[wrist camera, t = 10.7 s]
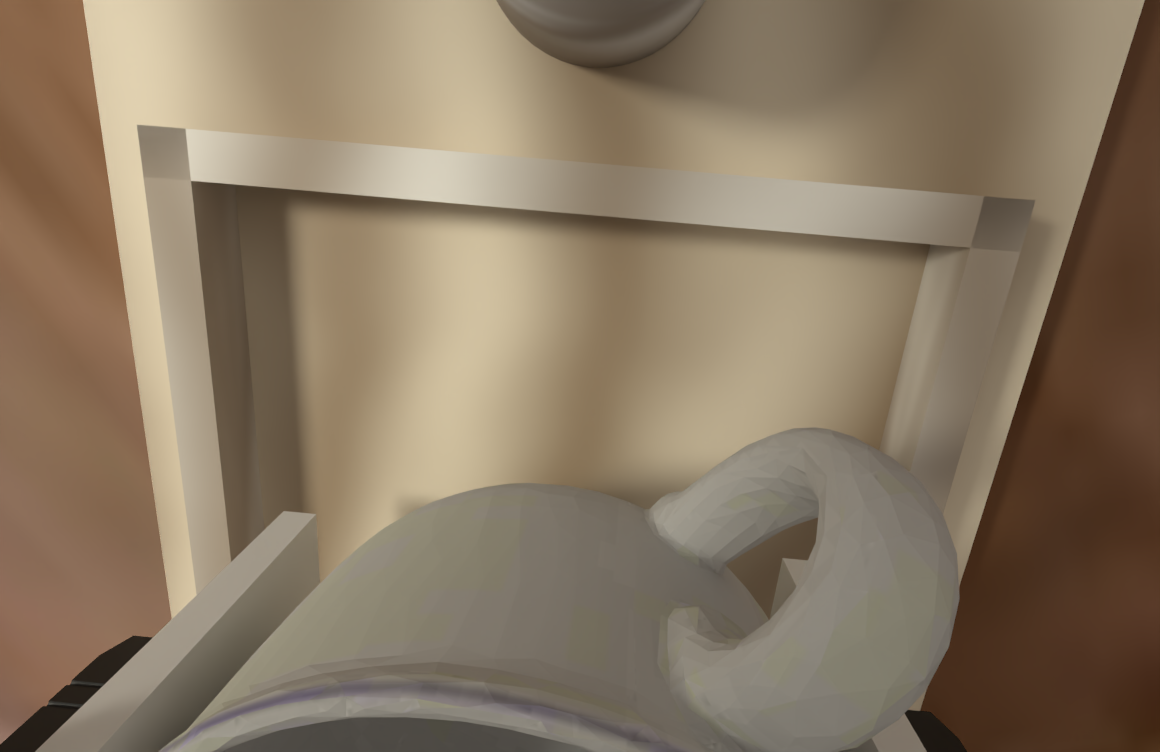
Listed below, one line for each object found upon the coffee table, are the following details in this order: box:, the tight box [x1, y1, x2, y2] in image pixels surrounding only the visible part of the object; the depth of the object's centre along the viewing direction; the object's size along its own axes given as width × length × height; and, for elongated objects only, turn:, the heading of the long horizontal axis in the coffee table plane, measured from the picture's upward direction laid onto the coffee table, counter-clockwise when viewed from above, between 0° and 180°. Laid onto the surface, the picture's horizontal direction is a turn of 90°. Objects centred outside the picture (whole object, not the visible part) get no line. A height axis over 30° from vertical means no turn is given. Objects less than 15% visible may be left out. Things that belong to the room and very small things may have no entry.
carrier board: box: [83, 0, 1145, 711], centre depth 13 cm, size 22×28×5 cm
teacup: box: [158, 427, 960, 752], centre depth 10 cm, size 14×11×8 cm
